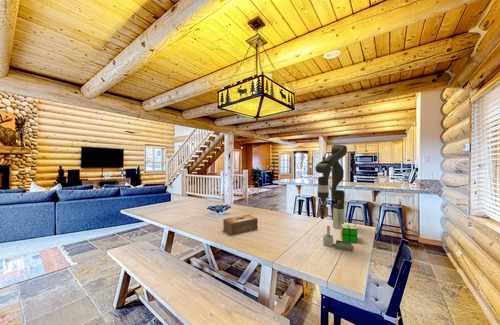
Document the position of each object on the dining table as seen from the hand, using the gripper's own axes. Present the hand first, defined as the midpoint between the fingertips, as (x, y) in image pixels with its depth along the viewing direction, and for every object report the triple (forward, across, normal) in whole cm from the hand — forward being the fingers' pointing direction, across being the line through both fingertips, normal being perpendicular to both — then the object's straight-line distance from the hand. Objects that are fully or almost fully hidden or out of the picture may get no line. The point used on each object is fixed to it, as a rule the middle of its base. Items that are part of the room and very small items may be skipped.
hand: (323, 214), depth 146 cm
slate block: (+21, 0, -4) cm, 21 cm away
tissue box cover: (+22, -4, +67) cm, 71 cm away
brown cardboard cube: (+1, 0, 0) cm, 1 cm away
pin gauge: (+20, 0, -4) cm, 21 cm away
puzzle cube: (+22, +16, -16) cm, 31 cm away
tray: (+21, 0, -14) cm, 25 cm away
